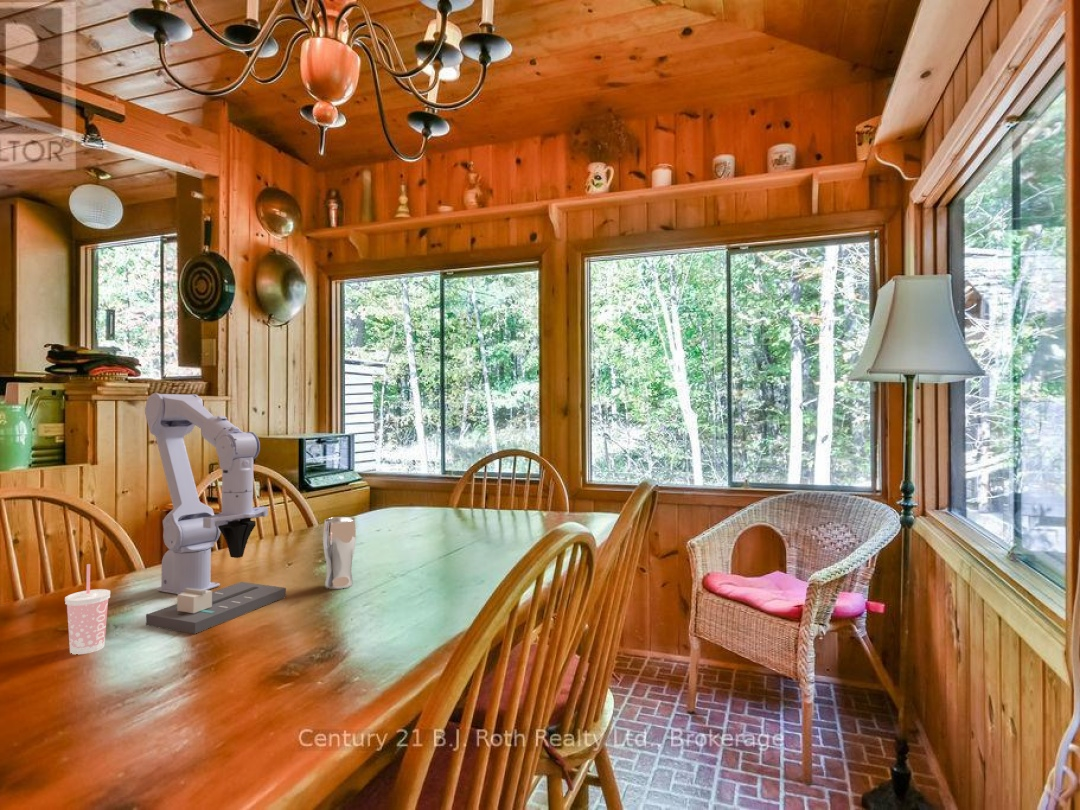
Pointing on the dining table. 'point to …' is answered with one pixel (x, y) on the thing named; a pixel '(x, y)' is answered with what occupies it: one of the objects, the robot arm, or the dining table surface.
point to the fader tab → (194, 600)
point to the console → (217, 608)
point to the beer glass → (339, 551)
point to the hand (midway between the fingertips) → (236, 556)
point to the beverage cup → (87, 618)
